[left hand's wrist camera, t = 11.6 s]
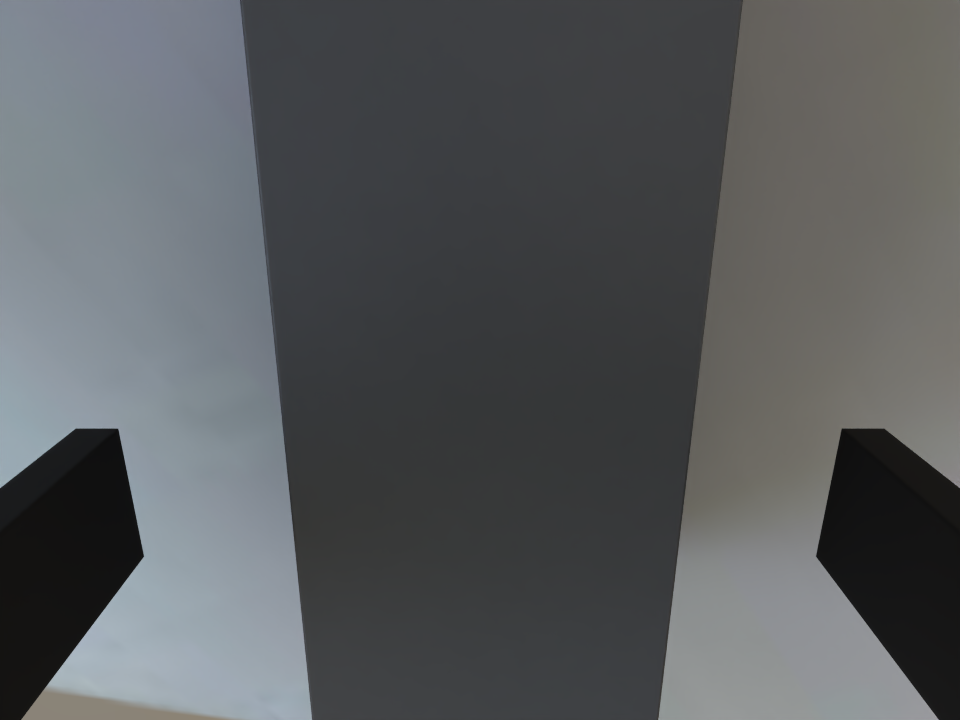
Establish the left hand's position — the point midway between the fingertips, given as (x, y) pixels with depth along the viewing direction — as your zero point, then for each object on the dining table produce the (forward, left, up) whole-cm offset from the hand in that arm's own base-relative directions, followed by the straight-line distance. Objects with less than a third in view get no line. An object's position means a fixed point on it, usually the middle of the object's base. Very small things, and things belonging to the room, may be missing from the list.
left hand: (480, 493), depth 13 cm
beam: (+33, +7, -5) cm, 34 cm away
